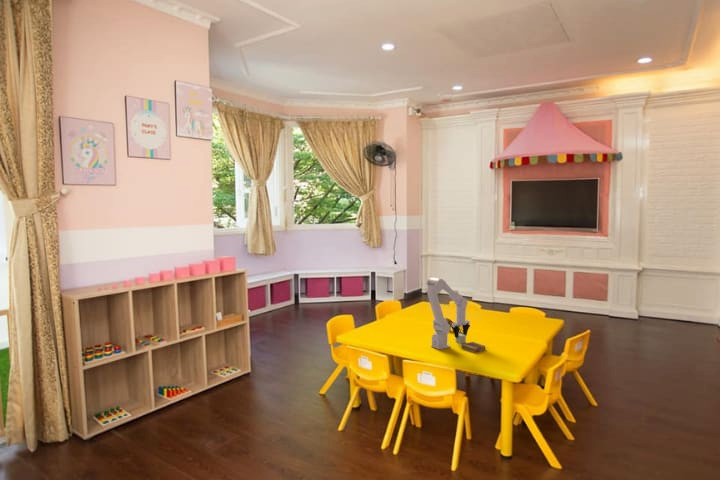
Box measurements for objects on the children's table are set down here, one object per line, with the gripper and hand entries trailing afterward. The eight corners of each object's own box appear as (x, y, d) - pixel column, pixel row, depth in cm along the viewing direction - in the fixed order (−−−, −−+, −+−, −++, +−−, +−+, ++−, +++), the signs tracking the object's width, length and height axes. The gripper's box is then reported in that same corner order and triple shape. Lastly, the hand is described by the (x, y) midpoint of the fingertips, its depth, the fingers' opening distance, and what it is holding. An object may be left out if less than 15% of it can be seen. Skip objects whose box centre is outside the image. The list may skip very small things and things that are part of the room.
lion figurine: (442, 331, 312) (442, 318, 311) (444, 329, 317) (444, 316, 316) (463, 333, 306) (463, 320, 305) (464, 331, 311) (465, 318, 310)
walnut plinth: (473, 353, 266) (474, 348, 265) (461, 349, 274) (461, 344, 274) (485, 350, 271) (485, 345, 271) (472, 346, 280) (472, 341, 279)
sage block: (460, 344, 283) (460, 336, 283) (455, 342, 287) (455, 334, 287) (465, 342, 286) (465, 335, 285) (460, 340, 289) (460, 333, 289)
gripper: (457, 318, 278) (457, 340, 279) (473, 315, 286) (473, 335, 287) (449, 316, 283) (449, 337, 285) (465, 312, 292) (464, 333, 293)
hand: (460, 336), depth 286 cm, fingers open, 7 cm apart
